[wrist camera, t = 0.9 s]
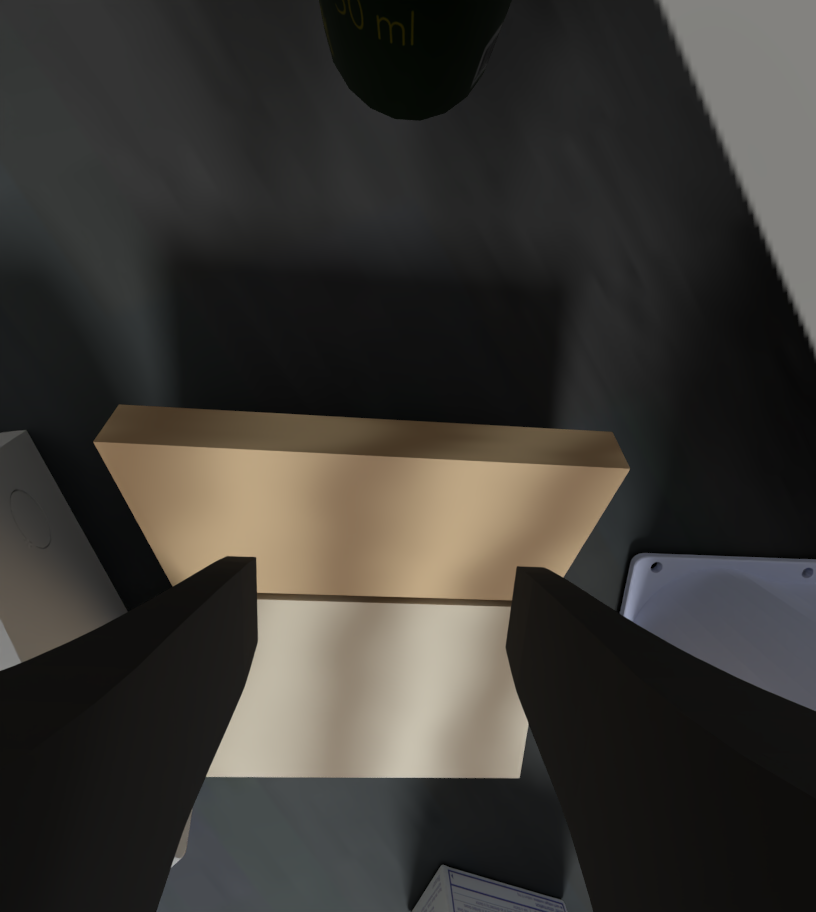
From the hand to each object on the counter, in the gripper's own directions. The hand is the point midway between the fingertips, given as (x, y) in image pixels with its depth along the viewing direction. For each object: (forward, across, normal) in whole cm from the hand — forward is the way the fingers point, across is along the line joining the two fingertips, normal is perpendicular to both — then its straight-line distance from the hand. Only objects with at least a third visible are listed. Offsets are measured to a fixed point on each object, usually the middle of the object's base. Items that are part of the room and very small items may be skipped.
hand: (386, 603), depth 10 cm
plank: (+7, 0, 0) cm, 7 cm away
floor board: (+9, 0, +10) cm, 13 cm away
